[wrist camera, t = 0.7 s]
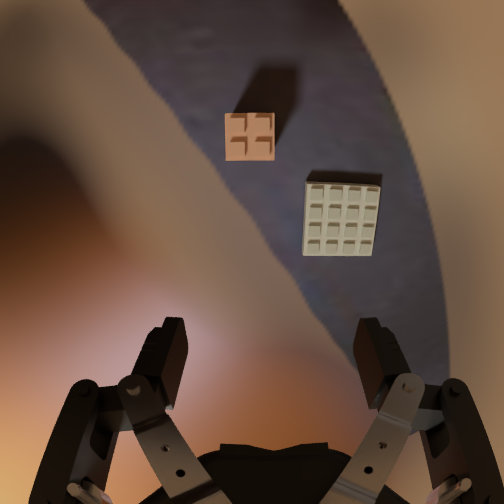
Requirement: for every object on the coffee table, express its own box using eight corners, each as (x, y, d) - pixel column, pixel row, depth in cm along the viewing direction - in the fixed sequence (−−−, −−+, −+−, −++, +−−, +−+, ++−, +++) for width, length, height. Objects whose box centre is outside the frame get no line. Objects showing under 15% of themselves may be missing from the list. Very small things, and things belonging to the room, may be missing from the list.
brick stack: (232, 114, 28) (224, 113, 22) (272, 114, 28) (274, 112, 22) (232, 152, 30) (225, 161, 24) (272, 152, 30) (274, 161, 24)
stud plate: (305, 181, 31) (307, 184, 29) (376, 184, 31) (381, 188, 29) (301, 250, 34) (303, 257, 33) (368, 251, 34) (372, 257, 32)
